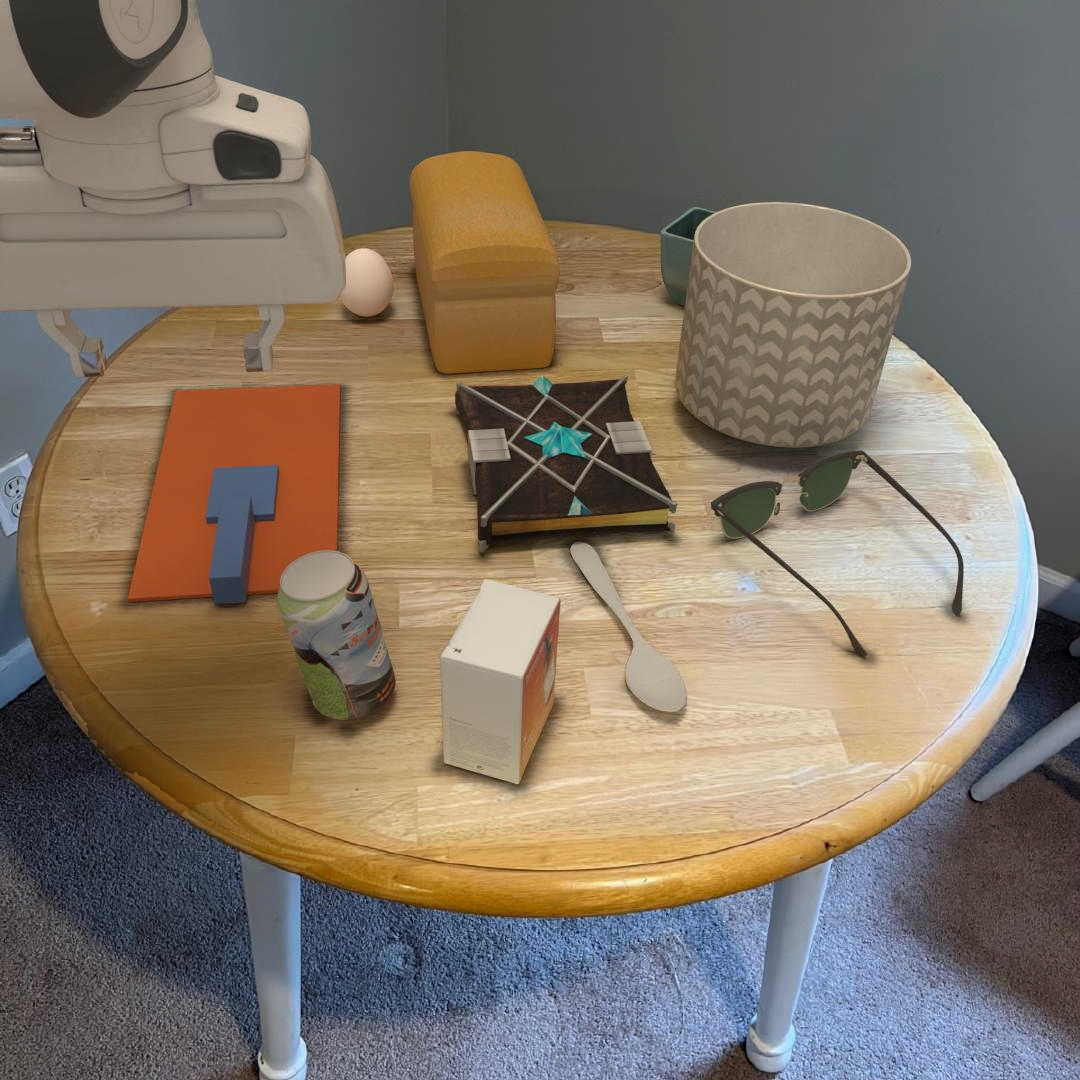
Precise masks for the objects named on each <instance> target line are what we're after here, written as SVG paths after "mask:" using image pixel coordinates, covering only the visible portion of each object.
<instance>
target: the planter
mask: <svg viewBox="0 0 1080 1080" xmlns="http://www.w3.org/2000/svg"><path fill="white" fill-rule="evenodd" d="M715 212H716V213H714V214H712V215H711V216H709V217H707V218H706V219H705V220H703V221H702V222H701V223H700V225H699V226H698V227H697V229H696V232H695V235H694V242H693V250H692V257H691V265H690V272H689V279H688V287H687V294H686V301H685V306H684V310H683V317H682V325H681V330H680V331H681V332H680V339H679V346H678V353H677V361H676V367H675V369H676V370H675V375H674V376H675V377H674V389H675V392H676V396H677V397H678V399H679V401H680V402H681V404H682V405H683V407H684V408H685V409H686V410H687V411H688V412H689V413H690V414H691V415H692V416H694V417H695V418H696V419H697V420H699V421H700V422H702V423H703V424H704V425H706V426H708V427H709V428H711V429H713V430H715V431H717V432H719V433H721V434H724V435H727V436H729V437H732V438H734V439H737V440H740V441H745V442H748V443H752V444H757V445H762V446H768V447H776V448H813V447H819V446H825V445H828V444H833V443H837V442H840V441H842V440H844V439H846V438H849V437H850V436H852V435H854V434H856V433H857V432H858V431H859V430H860V429H862V428H863V427H864V425H865V424H866V423H867V422H868V420H869V418H870V416H871V413H872V410H873V406H874V403H875V399H876V395H877V391H878V388H879V385H880V380H881V377H882V373H883V370H884V366H885V362H886V359H887V354H888V352H889V348H890V345H891V340H892V337H893V333H894V331H895V330H894V329H895V326H896V323H897V319H898V316H899V312H900V307H901V306H902V305H901V304H902V301H903V297H904V294H905V290H906V287H907V282H908V280H909V279H908V278H909V275H910V272H911V268H912V257H911V254H910V251H909V250H908V248H907V246H906V245H905V243H903V242H902V241H901V239H900V238H898V236H896V235H894V234H893V233H892V232H891V231H889V230H888V229H886V228H885V227H883V226H881V225H879V224H877V223H875V222H873V221H871V220H869V219H866V218H865V217H864V218H863V217H861V216H859V215H856V214H853V213H850V212H847V211H843V210H839V209H836V208H832V207H828V206H827V207H826V206H821V205H815V204H808V203H799V202H788V201H787V202H786V201H785V202H784V201H783V202H782V201H766V202H765V201H763V202H753V203H745V204H739V205H735V206H731V207H727V208H724V209H721V210H719V211H715Z"/></svg>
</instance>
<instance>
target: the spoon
mask: <svg viewBox="0 0 1080 1080" xmlns="http://www.w3.org/2000/svg"><path fill="white" fill-rule="evenodd" d="M570 554H571V557H572V559H573V561H574V563H575V564H576V565H577V567H578V569H579V570H580V571H581V573H582V574H583V576H584V577H585V578H586V580H587V582H588V583H589V584H590V586H591V588H593V590H594V591H595V592H596V593H597V594H598V595H599V596H600V598H601V599H602V600H603V601H604V603H606V605H607V606H608V607H609V608H610V609H611V610H612V611H613V612H614V614H615V615H616V616H617V618H618V620H619V621H620V622H621V624H622V625H623V628H625V630H626V631H627V633H628V635H629V636H630V639H631V641H632V650H631V653H630V656H629V658H628V659H627V662H626V664H625V668H624V677H625V682H626V685H627V687H628V689H629V690H630V692H631V693H632V694H633V695H634V696H635V697H636V698H637V699H638V700H640V701H641V702H642V703H643V704H645V705H647V707H650V708H653V709H655V710H657V711H663V712H669V713H676V712H678V711H680V710H681V709H682V708H683V707H685V705H686V703H687V700H688V693H687V692H688V691H687V688H686V685H685V682H684V680H683V677H682V675H681V673H680V672H679V670H678V669H677V668H676V666H675V665H674V664H673V662H672V661H671V660H670V659H669V658H667V657H666V656H665V655H664V654H662V653H661V652H659V651H658V650H656V649H655V648H654V647H652V646H651V645H650V644H649V643H648V641H646V639H645V638H644V637H643V635H642V634H641V633H640V632H639V630H638V629H637V627H636V626H635V624H634V623H633V621H632V620H631V618H630V616H629V614H628V613H627V611H626V609H625V607H624V605H623V603H622V600H621V598H620V595H619V594H618V592H617V589H616V588H615V585H614V583H613V581H612V579H611V577H610V575H609V574H608V571H607V569H606V568H605V566H604V564H603V563H602V561H601V559H600V556H599V554H598V552H597V551H596V550H595V548H594V547H593V546H592V545H591V544H589V543H587V542H584V541H576V542H574V543H573V544H572V545H571V547H570Z"/></svg>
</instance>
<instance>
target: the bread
mask: <svg viewBox="0 0 1080 1080" xmlns="http://www.w3.org/2000/svg"><path fill="white" fill-rule="evenodd" d="M409 191H410V197H411V202H412V207H413V210H412V211H413V212H412V247H413V260H414V266H415V274H416V275H415V276H416V282H417V287H418V292H419V296H420V300H421V301H420V302H421V307H422V311H423V317H424V321H425V328H426V331H427V336H428V341H429V347H430V351H431V356H432V360H433V363H434V366H435V368H436V370H437V372H439V373H441V374H447V375H448V374H466V373H481V372H482V373H483V372H497V371H513V370H529V369H543V368H547V367H549V366H550V365H551V364H552V363H551V362H552V359H553V356H554V352H555V345H556V344H555V343H556V331H557V329H556V327H557V301H556V291H557V289H558V286H559V283H560V278H561V270H560V268H561V267H560V260H559V256H558V253H557V249H556V248H555V246H554V243H553V240H552V238H551V236H550V233H549V231H548V229H547V227H546V224H545V221H544V219H543V216H542V215H541V212H540V210H539V208H538V205H537V202H536V201H535V199H534V196H533V194H532V191H531V189H530V187H529V185H528V182H527V180H526V177H525V175H524V173H523V170H522V168H521V167H520V166H519V164H518V163H517V162H516V161H515V160H514V159H512V158H511V157H510V156H507V155H504V154H499V153H492V152H486V151H485V152H484V151H475V150H473V151H472V150H463V151H455V152H449V153H448V152H447V153H443V154H439V155H434V156H430V157H427V158H425V159H424V160H422V161H420V162H419V163H418V164H417V165H416V166H414V168H413V170H412V171H411V173H410V176H409Z"/></svg>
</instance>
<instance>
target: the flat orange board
mask: <svg viewBox="0 0 1080 1080" xmlns="http://www.w3.org/2000/svg"><path fill="white" fill-rule="evenodd" d="M340 424H341V384H339V383H338V384H314V385H312V384H311V385H289V386H288V385H287V386H286V385H285V386H263V387H262V386H261V387H259V386H257V387H236V388H235V387H234V388H210V389H209V388H208V389H183V390H181V389H179V390H175V391H174V394H173V399H172V403H171V408H170V412H169V417H168V422H167V426H166V430H165V434H164V439H163V444H162V448H161V452H160V456H159V460H158V465H157V470H156V473H155V477H154V482H153V487H152V491H151V495H150V500H149V504H148V509H147V513H146V518H145V522H144V526H143V531H142V534H141V539H140V543H139V548H138V553H137V557H136V561H135V564H134V570H133V574H132V578H131V583H130V586H129V591H128V595H127V600H128V603H134V602H135V603H136V602H150V601H151V602H152V601H168V600H169V601H170V600H185V599H203V598H213V595H212V590H211V586H210V581H209V574H210V568H211V561H212V555H213V548H214V542H215V536H216V529H217V523H213V524H207V521H206V512H207V506H208V500H209V494H210V489H211V483H212V477H213V471H214V468H222V467H244V466H267V465H278V467H279V478H278V489H277V499H276V510H275V520H273V521H255V527H254V536H253V544H252V553H251V562H250V570H249V579H248V587H247V596H249V595H250V596H251V595H252V596H253V595H267V594H268V595H269V594H278V590H279V588H280V579H281V576H282V573H283V572H284V570H285V569H286V568H287V567H288V566H289V565H290V564H291V563H292V562H293V561H295V560H297V559H298V558H300V557H302V556H304V555H307V554H309V553H313V552H317V551H325V550H331V551H338V547H339V546H338V544H339V543H338V541H339V538H338V537H339V492H340V491H339V488H340V487H339V485H340V483H339V481H340V435H341V434H340V432H341V431H340V429H341V428H340V427H341V425H340Z"/></svg>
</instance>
